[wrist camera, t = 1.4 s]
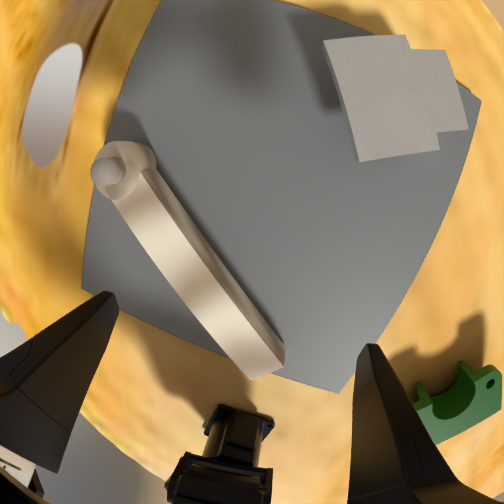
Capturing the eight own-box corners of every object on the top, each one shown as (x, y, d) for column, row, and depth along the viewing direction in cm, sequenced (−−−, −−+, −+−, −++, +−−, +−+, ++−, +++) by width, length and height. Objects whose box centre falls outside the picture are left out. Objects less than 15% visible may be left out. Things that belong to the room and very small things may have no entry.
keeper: (342, 161, 19) (359, 162, 14) (316, 68, 17) (323, 40, 12) (434, 146, 17) (472, 146, 12) (409, 59, 15) (439, 35, 10)
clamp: (452, 341, 26) (510, 354, 17) (458, 380, 26) (509, 398, 17) (374, 400, 25) (427, 438, 16) (385, 437, 24) (431, 476, 16)
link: (104, 164, 20) (70, 169, 16) (138, 130, 19) (106, 127, 15) (249, 363, 23) (242, 396, 19) (291, 344, 22) (289, 378, 18)
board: (337, 386, 25) (338, 393, 24) (87, 284, 25) (81, 288, 24) (475, 102, 15) (481, 100, 14) (173, -9, 16) (168, -14, 15)
